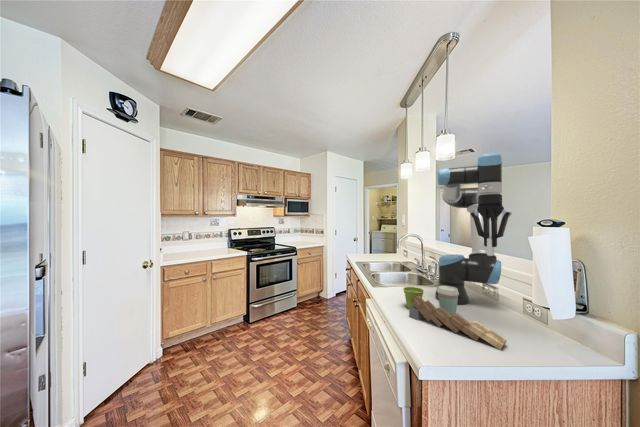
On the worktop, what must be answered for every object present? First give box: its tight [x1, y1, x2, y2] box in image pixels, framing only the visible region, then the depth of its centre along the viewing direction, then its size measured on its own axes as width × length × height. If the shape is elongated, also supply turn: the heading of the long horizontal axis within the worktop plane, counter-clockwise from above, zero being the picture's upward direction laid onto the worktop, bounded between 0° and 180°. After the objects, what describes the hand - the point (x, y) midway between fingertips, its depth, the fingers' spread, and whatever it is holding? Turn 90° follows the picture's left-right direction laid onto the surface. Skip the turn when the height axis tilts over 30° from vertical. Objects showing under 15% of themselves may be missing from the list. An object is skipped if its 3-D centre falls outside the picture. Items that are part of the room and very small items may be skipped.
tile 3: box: [432, 306, 462, 334], centre depth 90 cm, size 5×2×10 cm
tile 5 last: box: [411, 296, 433, 322], centre depth 98 cm, size 5×2×10 cm
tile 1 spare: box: [468, 320, 508, 351], centre depth 80 cm, size 5×2×10 cm
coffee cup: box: [436, 286, 459, 316], centre depth 101 cm, size 8×8×12 cm
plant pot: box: [402, 286, 425, 309], centre depth 110 cm, size 9×9×9 cm
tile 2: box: [448, 313, 482, 342], centre depth 85 cm, size 5×2×10 cm
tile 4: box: [420, 299, 445, 328], centre depth 94 cm, size 5×2×10 cm
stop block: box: [408, 305, 425, 321], centre depth 100 cm, size 6×4×4 cm, turn 127°
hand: (490, 255), depth 89 cm, fingers closed
